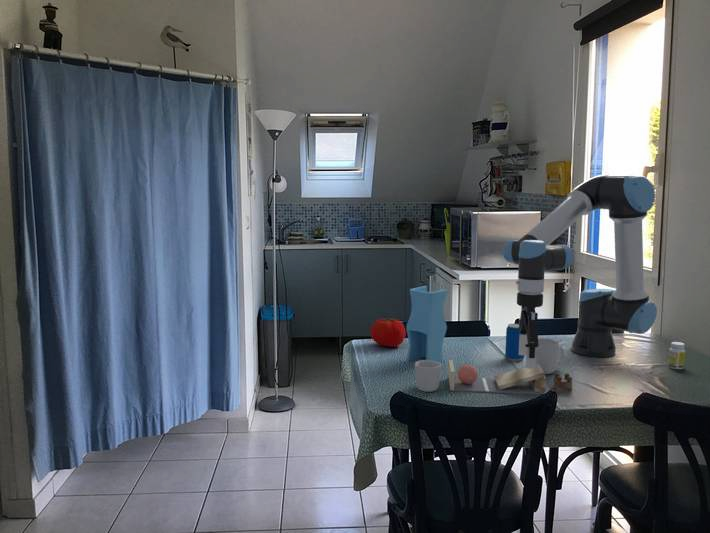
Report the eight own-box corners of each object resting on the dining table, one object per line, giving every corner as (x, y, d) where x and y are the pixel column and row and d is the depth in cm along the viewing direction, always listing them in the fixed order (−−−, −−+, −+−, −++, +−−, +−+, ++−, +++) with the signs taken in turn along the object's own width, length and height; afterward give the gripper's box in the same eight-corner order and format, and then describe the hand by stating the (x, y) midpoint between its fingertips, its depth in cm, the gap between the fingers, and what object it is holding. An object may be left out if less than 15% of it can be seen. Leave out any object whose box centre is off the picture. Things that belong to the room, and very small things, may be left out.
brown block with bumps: (568, 386, 196) (569, 372, 195) (572, 391, 191) (573, 377, 190) (553, 386, 196) (554, 372, 195) (556, 391, 192) (557, 376, 191)
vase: (445, 360, 221) (447, 289, 218) (428, 366, 214) (430, 293, 211) (422, 354, 228) (424, 285, 224) (405, 360, 221) (407, 289, 217)
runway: (545, 381, 200) (546, 363, 199) (553, 395, 188) (554, 375, 187) (448, 378, 203) (448, 359, 202) (450, 390, 191) (450, 371, 190)
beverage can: (524, 362, 220) (526, 328, 218) (505, 361, 222) (506, 327, 220) (523, 356, 227) (525, 323, 225) (504, 355, 228) (506, 322, 226)
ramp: (539, 383, 199) (540, 363, 198) (545, 393, 190) (546, 372, 189) (494, 381, 200) (495, 361, 199) (497, 391, 191) (498, 370, 190)
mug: (541, 377, 205) (542, 346, 203) (523, 369, 213) (524, 339, 211) (572, 372, 210) (574, 342, 208) (553, 364, 218) (555, 336, 216)
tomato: (411, 344, 241) (411, 317, 239) (395, 352, 231) (395, 324, 229) (380, 339, 248) (381, 312, 246) (364, 346, 238) (364, 319, 236)
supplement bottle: (682, 366, 217) (684, 342, 216) (684, 370, 213) (687, 345, 212) (667, 364, 219) (669, 340, 218) (669, 368, 214) (671, 344, 213)
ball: (480, 372, 198) (467, 358, 198) (482, 378, 193) (469, 363, 192) (466, 384, 199) (453, 370, 199) (467, 391, 194) (454, 376, 193)
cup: (410, 382, 199) (410, 357, 197) (435, 381, 199) (436, 356, 198) (416, 394, 188) (417, 368, 187) (443, 393, 189) (444, 367, 188)
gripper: (511, 284, 203) (508, 349, 206) (524, 300, 178) (520, 373, 182) (535, 285, 202) (532, 350, 205) (551, 301, 178) (547, 374, 181)
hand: (526, 361), depth 193 cm, fingers open, 13 cm apart
